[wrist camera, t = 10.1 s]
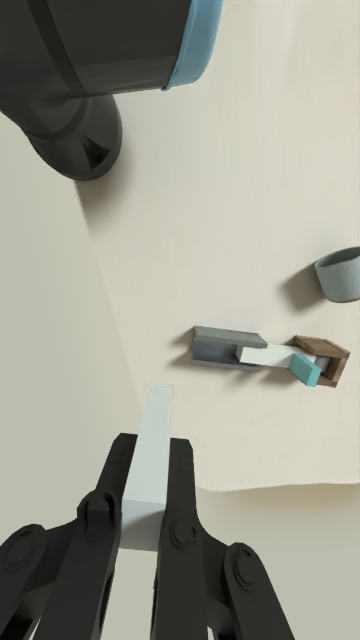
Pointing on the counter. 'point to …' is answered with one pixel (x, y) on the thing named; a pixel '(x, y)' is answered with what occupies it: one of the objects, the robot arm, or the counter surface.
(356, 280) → the ceramic mug
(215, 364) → the channel
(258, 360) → the rod
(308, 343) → the socket
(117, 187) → the counter surface
